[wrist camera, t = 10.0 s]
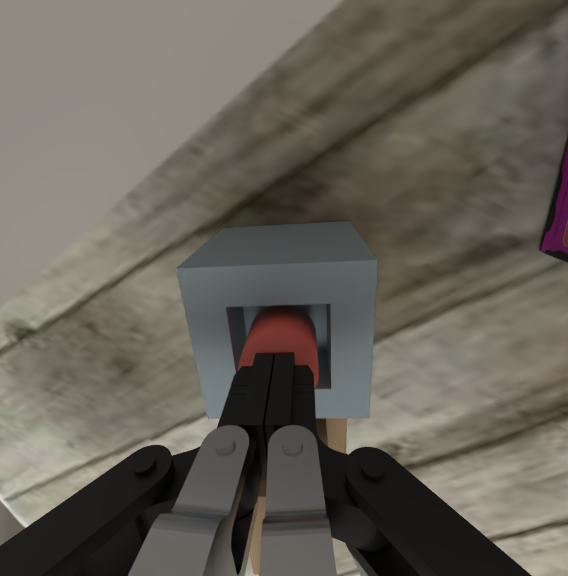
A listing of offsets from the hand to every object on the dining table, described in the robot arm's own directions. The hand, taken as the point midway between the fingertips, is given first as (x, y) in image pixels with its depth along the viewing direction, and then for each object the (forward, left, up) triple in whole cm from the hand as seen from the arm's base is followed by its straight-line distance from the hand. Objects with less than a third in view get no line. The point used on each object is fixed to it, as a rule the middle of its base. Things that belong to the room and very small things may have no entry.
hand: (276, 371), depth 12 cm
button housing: (0, 0, -10) cm, 10 cm away
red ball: (0, 0, -3) cm, 3 cm away
